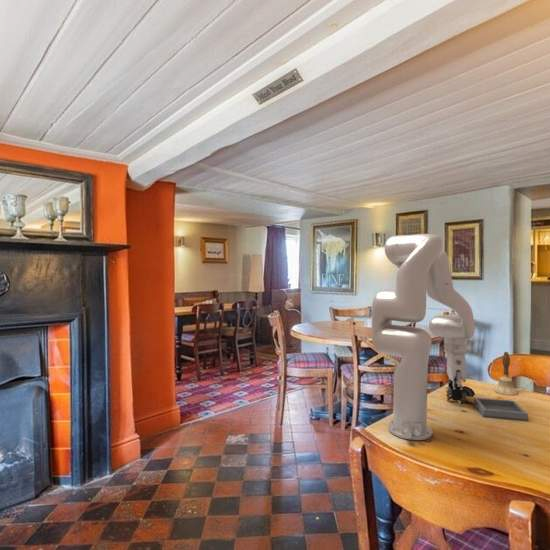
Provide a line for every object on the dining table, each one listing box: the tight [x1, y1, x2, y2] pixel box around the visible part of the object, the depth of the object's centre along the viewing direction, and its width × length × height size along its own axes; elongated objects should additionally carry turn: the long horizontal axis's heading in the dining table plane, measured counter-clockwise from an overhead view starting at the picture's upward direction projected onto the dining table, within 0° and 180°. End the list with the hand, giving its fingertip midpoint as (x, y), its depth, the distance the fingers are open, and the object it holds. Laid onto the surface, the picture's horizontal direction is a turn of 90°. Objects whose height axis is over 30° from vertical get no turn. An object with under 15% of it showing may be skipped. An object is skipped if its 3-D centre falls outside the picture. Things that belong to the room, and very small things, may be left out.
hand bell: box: [493, 351, 519, 397], centre depth 151 cm, size 8×8×16 cm
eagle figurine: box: [444, 385, 476, 405], centre depth 139 cm, size 8×7×9 cm
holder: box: [473, 397, 529, 422], centre depth 130 cm, size 12×13×2 cm
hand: (454, 396), depth 140 cm, fingers closed on eagle figurine, 6 cm apart
